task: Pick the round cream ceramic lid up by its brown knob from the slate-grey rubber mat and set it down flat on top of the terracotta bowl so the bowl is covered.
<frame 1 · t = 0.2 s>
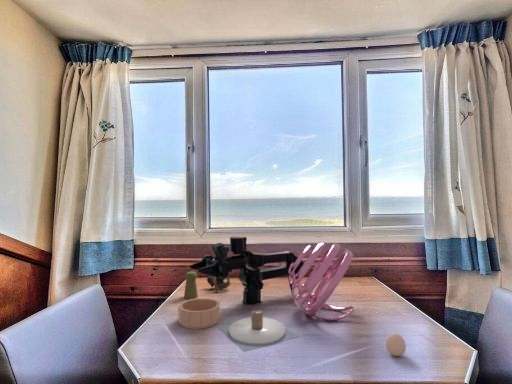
hand: (193, 268, 117), 17 cm above the table, tool horizontal, fingers open, 9 cm apart
rubber mat: (257, 333, 99), on the table
pottery mug: (218, 289, 149), on the table
green tapered peg: (190, 297, 137), on the table
egg: (395, 356, 85), on the table
ceramic lid: (257, 331, 99), resting on rubber mat
spiral basket: (320, 314, 116), on the table
terracotta bowl: (199, 321, 109), on the table
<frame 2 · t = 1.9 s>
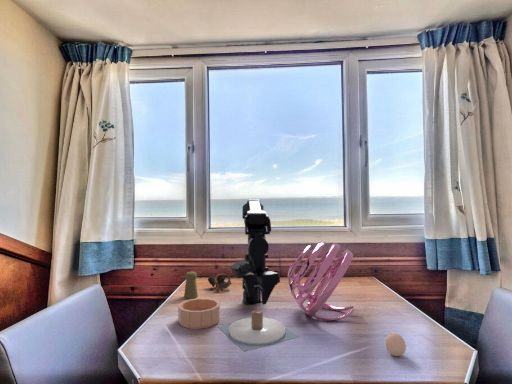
hand: (256, 300, 100), 10 cm above the table, tool pointing down, fingers open, 9 cm apart
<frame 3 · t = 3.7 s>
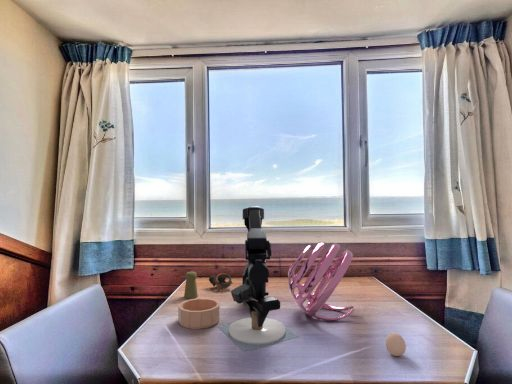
hand: (257, 324, 99), 3 cm above the table, tool pointing down, fingers closed on ceramic lid, 4 cm apart
ceramic lid: (257, 331, 99), resting on rubber mat, touching gripper
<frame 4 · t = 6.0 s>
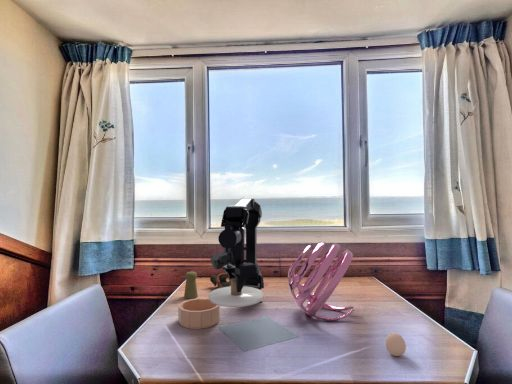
hand: (236, 290, 103), 13 cm above the table, tool pointing down, fingers closed on ceramic lid, 4 cm apart
ceramic lid: (236, 297, 103), point 10 cm above the table, touching gripper
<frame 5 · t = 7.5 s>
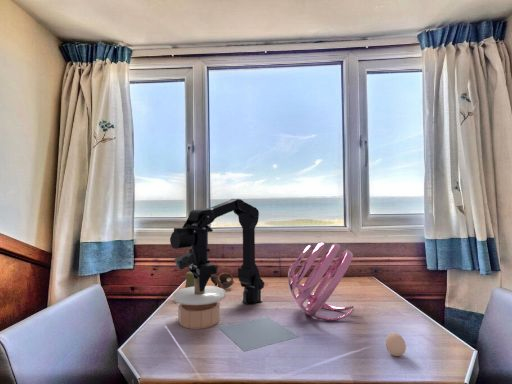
hand: (199, 290, 109), 11 cm above the table, tool pointing down, fingers closed on ceramic lid, 4 cm apart
ceramic lid: (199, 296, 109), point 9 cm above the table, touching gripper
when the fingers open (9 cm above the table, at t = 8.5 s): ceramic lid drops 1 cm, resting on terracotta bowl.
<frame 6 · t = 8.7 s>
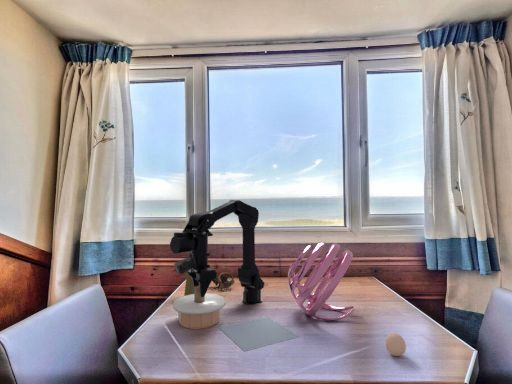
hand: (199, 294, 109), 9 cm above the table, tool pointing down, fingers open, 6 cm apart
ceramic lid: (199, 304, 109), point 6 cm above the table, touching terracotta bowl
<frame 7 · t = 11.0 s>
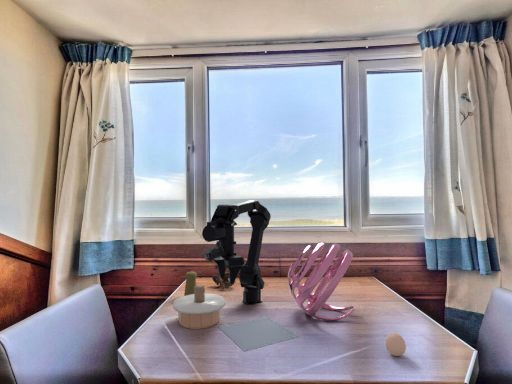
hand: (226, 281, 114), 13 cm above the table, tool pointing down, fingers open, 9 cm apart
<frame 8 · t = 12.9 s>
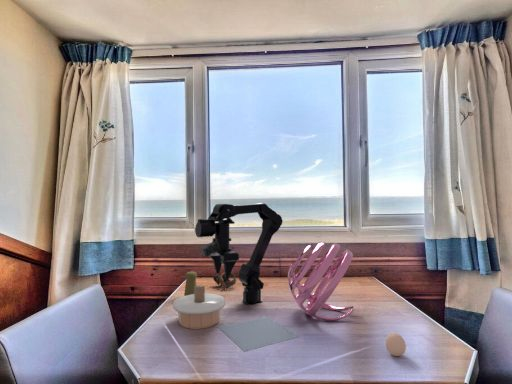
hand: (222, 275, 122), 13 cm above the table, tool pointing down, fingers open, 9 cm apart
at the end: ceramic lid 0.0 cm off-centre on the terracotta bowl, point 6.0 cm above the terracotta bowl's base; ceramic lid tilted 0°; the gripper is holding nothing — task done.
